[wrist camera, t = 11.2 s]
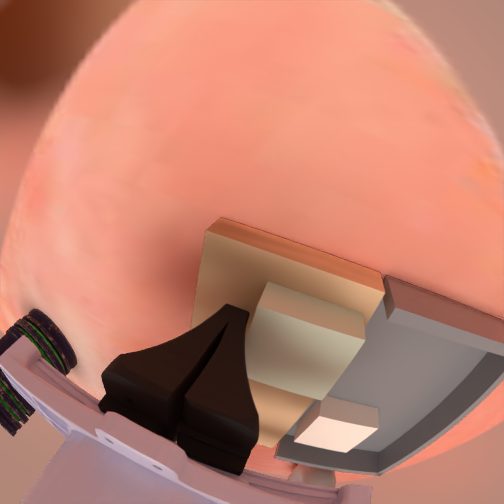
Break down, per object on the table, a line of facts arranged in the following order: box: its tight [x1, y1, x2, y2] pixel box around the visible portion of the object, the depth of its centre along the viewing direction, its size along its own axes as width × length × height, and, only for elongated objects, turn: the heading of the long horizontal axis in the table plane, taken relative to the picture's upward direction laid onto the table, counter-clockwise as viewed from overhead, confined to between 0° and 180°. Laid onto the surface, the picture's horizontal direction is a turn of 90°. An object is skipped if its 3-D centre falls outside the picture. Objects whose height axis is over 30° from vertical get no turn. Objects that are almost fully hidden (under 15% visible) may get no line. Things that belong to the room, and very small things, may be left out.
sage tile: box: [245, 282, 366, 401], centre depth 13 cm, size 5×5×2 cm
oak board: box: [190, 217, 385, 448], centre depth 18 cm, size 19×9×2 cm, turn 166°
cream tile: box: [294, 396, 378, 453], centre depth 18 cm, size 5×5×2 cm
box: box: [274, 275, 504, 476], centre depth 16 cm, size 19×12×3 cm, turn 166°
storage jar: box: [0, 309, 77, 436], centre depth 22 cm, size 10×10×15 cm
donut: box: [288, 464, 336, 488], centre depth 20 cm, size 10×4×10 cm, turn 166°
